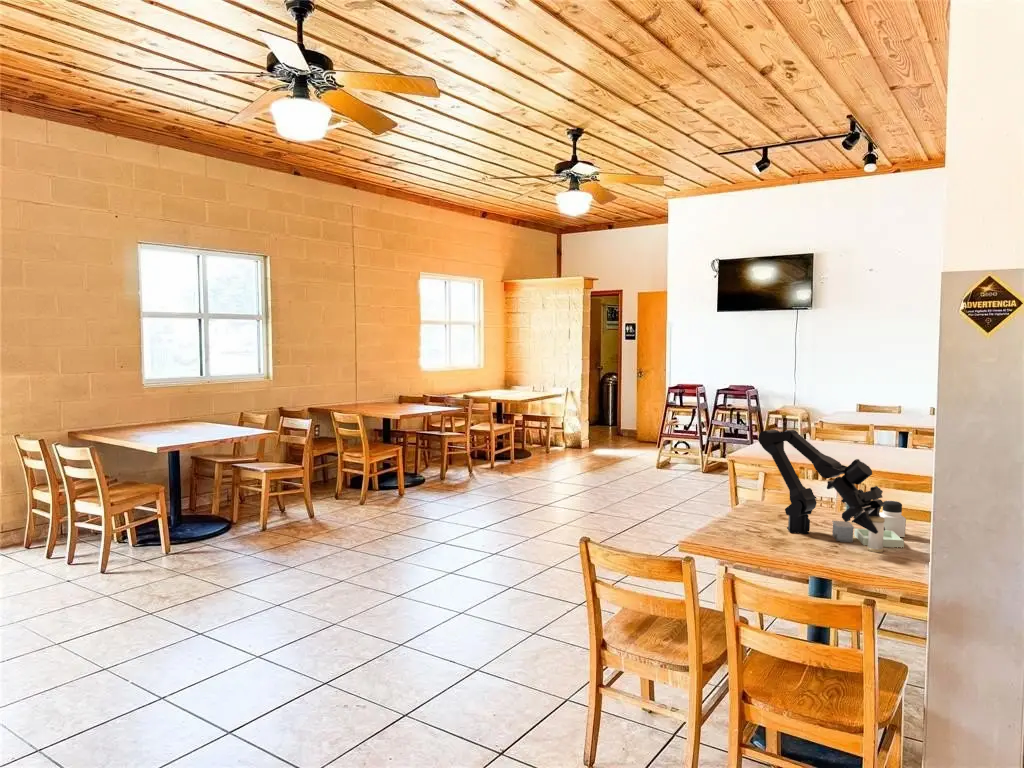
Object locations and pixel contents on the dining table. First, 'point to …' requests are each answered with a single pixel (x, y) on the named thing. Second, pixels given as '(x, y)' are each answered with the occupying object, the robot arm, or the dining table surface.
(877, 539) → the fuse
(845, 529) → the box
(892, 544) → the tray
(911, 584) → the dining table surface
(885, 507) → the medicine bottle
